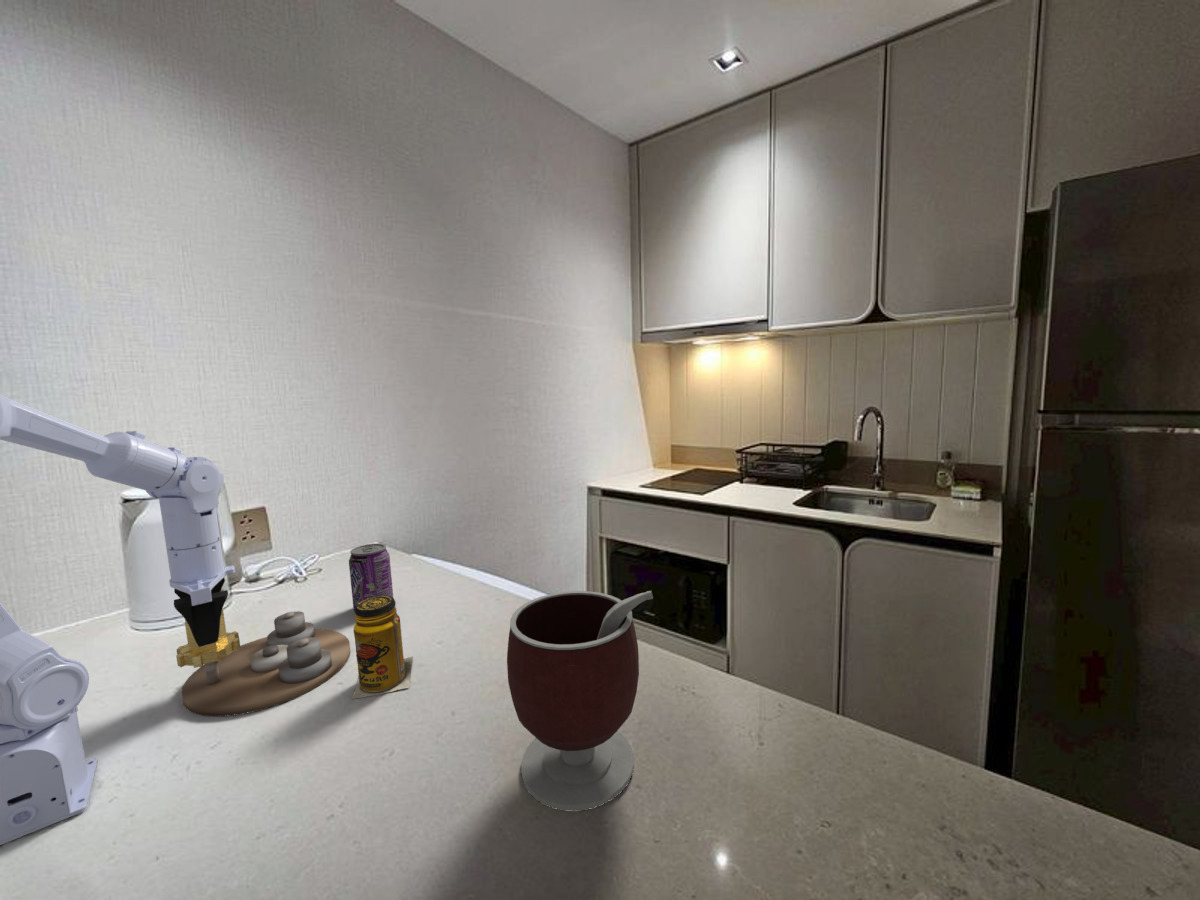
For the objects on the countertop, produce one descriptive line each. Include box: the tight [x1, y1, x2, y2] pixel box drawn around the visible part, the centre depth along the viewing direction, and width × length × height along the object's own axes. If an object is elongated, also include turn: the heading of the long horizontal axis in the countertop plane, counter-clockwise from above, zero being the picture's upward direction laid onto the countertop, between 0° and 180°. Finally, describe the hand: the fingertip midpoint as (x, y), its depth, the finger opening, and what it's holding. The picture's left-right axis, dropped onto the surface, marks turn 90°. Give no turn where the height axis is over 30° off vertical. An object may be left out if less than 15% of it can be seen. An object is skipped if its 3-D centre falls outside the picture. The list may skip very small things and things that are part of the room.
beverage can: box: [348, 543, 394, 612], centre depth 94 cm, size 7×7×12 cm
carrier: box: [181, 610, 351, 717], centre depth 74 cm, size 21×21×6 cm
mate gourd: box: [506, 590, 654, 811], centre depth 52 cm, size 16×14×20 cm
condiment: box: [351, 596, 414, 700], centre depth 71 cm, size 7×8×12 cm
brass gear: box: [175, 609, 241, 669], centre depth 69 cm, size 7×7×6 cm
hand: (207, 637), depth 69 cm, fingers closed on brass gear, 4 cm apart
